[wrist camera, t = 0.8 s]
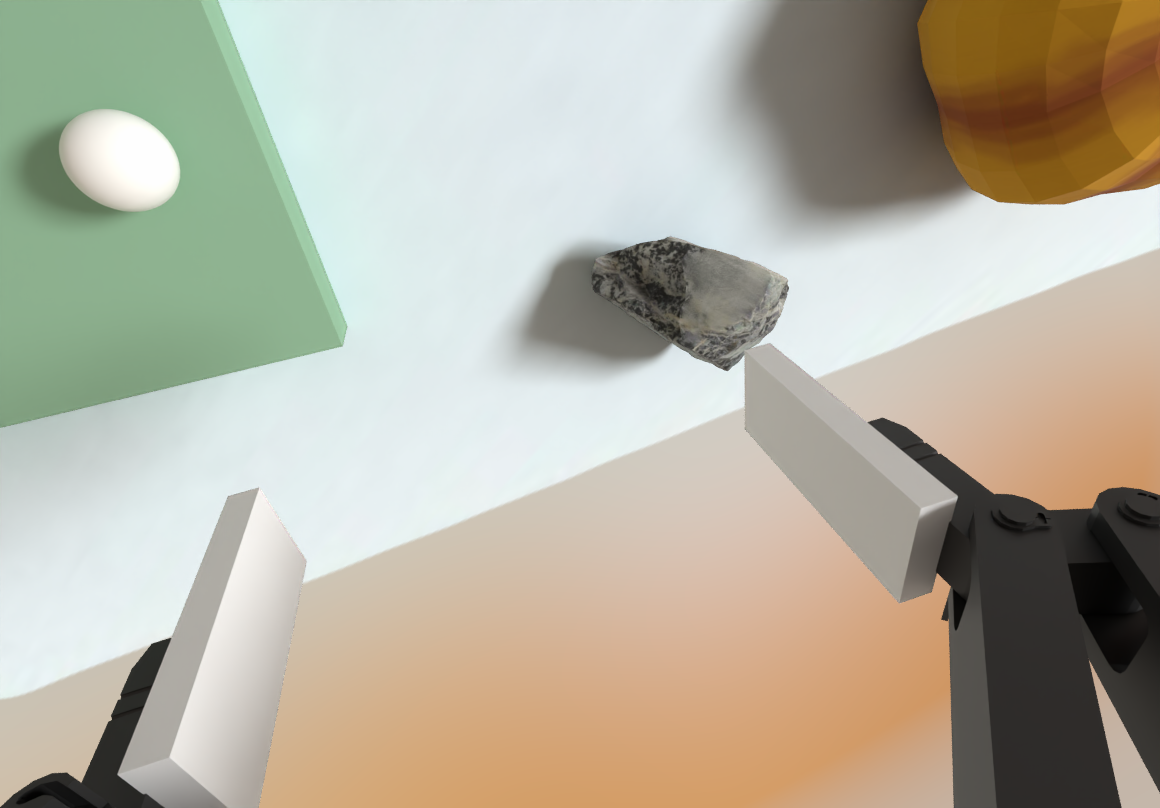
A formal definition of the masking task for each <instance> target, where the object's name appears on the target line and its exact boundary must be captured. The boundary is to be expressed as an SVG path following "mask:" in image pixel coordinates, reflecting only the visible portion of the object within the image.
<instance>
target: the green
mask: <svg viewBox="0 0 1160 808" xmlns="http://www.w3.org/2000/svg"><path fill="white" fill-rule="evenodd" d="M96 109H114V110H120V111H124V112H128V113H130V114H133V115H136V116H138V117H140V118H142V119H144V120H145V121H147V122H149V123H150V124H152V125H153V126H154V127H155V128H157V129H158V130H159V131H160V132H161V133H162V134H163V135H164V136H165V137H166V139H167V140H168V141H169V142H170V144H171V145H172V147H173V149H174V151H175V153H176V155H177V158H178V161H179V165H180V180H179V184H178V187H177V189H176V191H175V193H174V194H173V196H172V197H171V198H170V199H169V200H168V201H167V202H165V203H164V204H162V205H161V206H159V207H157V208H154V209H151V210H147V211H141V212H127V211H120V210H116V209H113V208H110V207H106V206H104V205H102V204H100V203H98V202H96V201H94V200H92V199H91V198H89V197H88V196H86V195H85V194H84V193H83V192H82V191H80V190H79V189H78V188H77V187H76V186H75V184H74V183H73V182H72V181H71V180H70V178H69V177H68V175H67V174H66V172H65V170H64V168H63V165H62V163H61V160H60V155H59V141H60V137H61V134H62V132H63V130H64V128H65V127H66V125H67V124H68V123H69V122H70V121H71V120H72V119H73V118H75V117H76V116H78V115H80V114H82V113H84V112H87V111H91V110H96ZM346 330H347V324H346V322H345V319H344V317H343V314H342V312H341V309H340V307H339V304H338V302H337V299H336V297H335V294H334V292H333V289H332V287H331V284H330V282H329V279H328V277H327V274H326V272H325V269H324V267H323V264H322V262H321V259H320V257H319V254H318V252H317V249H316V246H315V244H314V241H313V239H312V236H311V234H310V231H309V229H308V226H307V224H306V221H305V219H304V216H303V214H302V211H301V209H300V206H299V204H298V201H297V199H296V196H295V194H294V191H293V189H292V186H291V184H290V181H289V179H288V176H287V174H286V171H285V168H284V166H283V163H282V161H281V158H280V156H279V153H278V151H277V148H276V146H275V143H274V141H273V138H272V136H271V133H270V131H269V128H268V126H267V123H266V121H265V118H264V116H263V113H262V111H261V108H260V106H259V103H258V101H257V98H256V96H255V93H254V90H253V88H252V85H251V83H250V80H249V78H248V75H247V73H246V70H245V68H244V65H243V63H242V60H241V58H240V55H239V53H238V50H237V48H236V45H235V43H234V40H233V38H232V35H231V33H230V30H229V28H228V25H227V23H226V20H225V18H224V15H223V12H222V10H221V7H220V5H219V2H218V0H0V428H2V427H6V426H10V425H14V424H18V423H23V422H27V421H31V420H35V419H39V418H44V417H48V416H52V415H56V414H60V413H65V412H69V411H73V410H77V409H81V408H86V407H90V406H94V405H98V404H102V403H107V402H111V401H115V400H119V399H123V398H128V397H132V396H136V395H140V394H144V393H149V392H153V391H157V390H161V389H165V388H169V387H174V386H178V385H182V384H186V383H190V382H195V381H199V380H203V379H207V378H211V377H216V376H220V375H224V374H228V373H232V372H237V371H241V370H245V369H249V368H253V367H258V366H262V365H266V364H270V363H274V362H279V361H283V360H287V359H291V358H295V357H300V356H304V355H308V354H312V353H316V352H321V351H325V350H329V349H333V348H337V347H342V346H343V342H344V338H345V334H346Z"/></svg>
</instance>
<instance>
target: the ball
mask: <svg viewBox="0 0 1160 808" xmlns="http://www.w3.org/2000/svg"><path fill="white" fill-rule="evenodd" d="M59 155H60V160H61V163H62V165H63V168H64V170H65V172H66V174H67V175H68V177H69V178H70V180H71V181H72V182H73V183H74V184H75V186H76V187H77V188H78V189H79V190H80V191H82V192H83V193H84V194H85V195H86V196H88V197H89V198H91V199H92V200H94V201H96V202H98V203H100V204H102V205H104V206H106V207H110V208H113V209H116V210H120V211H127V212H141V211H147V210H151V209H154V208H157V207H159V206H161V205H162V204H164V203H165V202H167V201H168V200H169V199H170V198H171V197H172V196H173V194H174V193H175V191H176V189H177V187H178V184H179V180H180V165H179V161H178V158H177V155H176V153H175V151H174V149H173V147H172V145H171V144H170V142H169V141H168V140H167V139H166V137H165V136H164V135H163V134H162V133H161V132H160V131H159V130H158V129H157V128H155V127H154V126H153V125H152V124H150V123H149V122H147V121H145V120H144V119H142V118H140V117H138V116H136V115H133V114H130V113H128V112H124V111H120V110H114V109H96V110H91V111H87V112H84V113H82V114H80V115H78V116H76V117H75V118H73V119H72V120H71V121H70V122H69V123H68V124H67V125H66V127H65V128H64V130H63V132H62V134H61V137H60V141H59Z"/></svg>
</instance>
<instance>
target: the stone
mask: <svg viewBox="0 0 1160 808" xmlns="http://www.w3.org/2000/svg"><path fill="white" fill-rule="evenodd" d="M787 282H788V280H787V278H785V277H783V276H781V275H779V274H778V273H775V272H773V271H771V270H769V269H767V268H765V267H763V266H761V265H759V264H757V263H754V262H750V261H746V260H742V259H740V258H738V257H736V256H733V255H729V254H726V253H723V252H720V251H717V250H713V249H708V248H703V247H700V246H697V245H694V244H692V243H690V242H687V241H685V240H682V239H678V238H675V237H667V238H665V239H662V240H658V241H650V242H645V243H640V244H636V245H634V246H631V247H628V248H626V249H624V250H618V251H614V252H611V253H608V254H606V255H605V256H601V257H599V258H596V260H595V263H594V266H593V269H592V285H593V290H594V291H595V293H597V294H599V295H601V296H603V297H604V298H606V299H607V300H608V301H611V302H612V304H614V305H617V306H618V307H619V308H621V309H622V310H624V311H625V312H626V313H627V314H628V315H630V316H632V317H633V318H635V319H636V320H637V321H638V322H640V323H642V324H644V325H646V326H647V327H648V328H650V329H651V330H652V331H654V332H655V333H657V334H659V335H660V336H661V337H662V338H664V339H665V340H667V341H668V342H671V343H673V344H674V345H676V346H677V347H679V348H680V349H682V350H684V351H686V352H688V353H689V354H690V355H691V356H693V357H694V358H696V359H699V360H703V361H705V362H709V363H712V364H713V365H715V366H716V367H718V368H721V369H723V370H726V371H728V370H730V368H731V367H732V366H734V365H735V364H737V363H738V362H739V361H740V359H741V358H742V357H743V356H744V355H745V350H747V349H750V348H752V347H753V346H755V345H756V344H758V343H759V342H760V341H761V340H762V339H763V338H764V337H765V336H766V335H767V334H768V333H770V332H771V331H772V330H773V328H774V327H775V325H776V322H777V320H778V318H779V317H780V315H781V312H782V310H783V305H784V302H785V300H786V297H787V292H788V290H789V287H788V285H787Z"/></svg>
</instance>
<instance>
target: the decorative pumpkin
mask: <svg viewBox="0 0 1160 808" xmlns="http://www.w3.org/2000/svg"><path fill="white" fill-rule="evenodd" d="M917 26H918V33H919V41H920V48H921V55H922V63H923V68H924V70H925V73H926V76H927V78H928V81H929V84H930V86H931V89H932V92H933V94H934V97H935V100H936V102H937V105H938V110H939V116H940V122H941V127H942V133H943V139H944V143H945V145H946V148H947V150H948V152H949V154H950V156H951V158H952V160H953V162H954V164H955V166H956V168H957V169H958V171H959V172H960V173H961V175H962V176H963V178H964V179H965V181H966V182H967V184H968V185H969V186H970V188H971V189H972V190H974V191H976V192H978V193H980V194H983V195H985V196H987V197H989V198H991V199H993V200H995V201H997V202H1005V203H1019V204H1067V203H1071V202H1075V201H1078V200H1082V199H1086V198H1089V197H1093V196H1096V195H1100V194H1107V193H1115V192H1123V191H1130V190H1138V189H1145V188H1148V187H1151V186H1154V185H1157V184H1160V0H927V2H926V5H925V7H924V9H923V11H922V14H921V16H920V18H919V20H918V23H917Z"/></svg>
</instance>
